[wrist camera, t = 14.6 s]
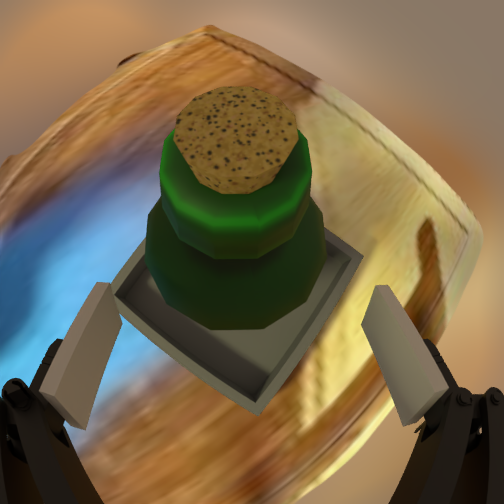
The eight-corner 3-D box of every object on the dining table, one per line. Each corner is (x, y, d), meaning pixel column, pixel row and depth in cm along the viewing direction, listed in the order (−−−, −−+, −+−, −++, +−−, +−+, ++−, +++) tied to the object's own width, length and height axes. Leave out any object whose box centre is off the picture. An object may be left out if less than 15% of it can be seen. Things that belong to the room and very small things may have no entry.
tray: (116, 300, 33) (101, 296, 29) (217, 173, 39) (215, 156, 34) (255, 405, 31) (258, 416, 27) (350, 264, 36) (364, 256, 32)
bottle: (264, 232, 36) (326, 26, 9) (290, 313, 33) (470, 262, 6) (182, 254, 34) (69, 75, 7) (205, 338, 32) (75, 389, 5)
